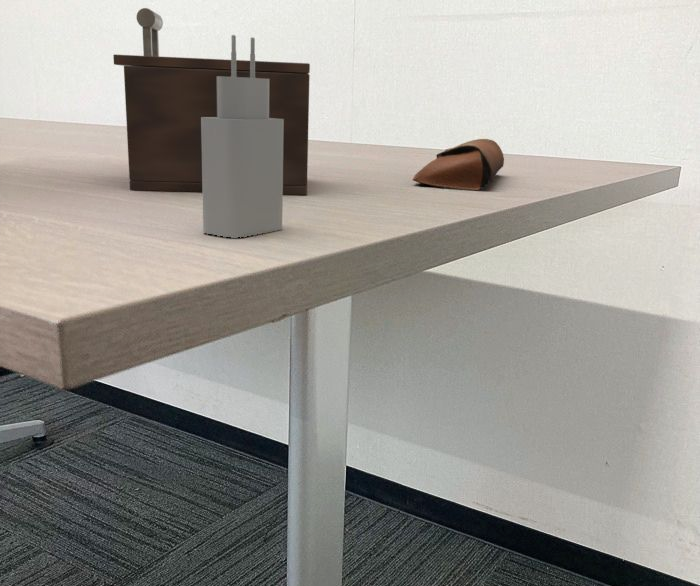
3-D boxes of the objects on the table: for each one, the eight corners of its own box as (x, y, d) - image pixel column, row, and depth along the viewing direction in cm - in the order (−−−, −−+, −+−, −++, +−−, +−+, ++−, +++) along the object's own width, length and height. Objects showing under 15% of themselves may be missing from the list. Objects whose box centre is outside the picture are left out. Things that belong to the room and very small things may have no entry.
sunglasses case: (433, 166, 96) (465, 119, 93) (479, 198, 96) (512, 153, 93) (409, 181, 79) (446, 124, 77) (465, 220, 79) (504, 165, 77)
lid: (113, 64, 64) (110, 2, 63) (139, 68, 76) (136, 15, 75) (309, 73, 66) (310, 12, 64) (304, 75, 78) (305, 24, 76)
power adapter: (286, 228, 53) (289, 39, 49) (235, 239, 48) (234, 32, 44) (250, 222, 54) (250, 39, 50) (198, 232, 50) (193, 32, 46)
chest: (129, 190, 68) (123, 65, 64) (151, 174, 80) (147, 68, 76) (306, 195, 69) (309, 73, 66) (302, 179, 81) (304, 75, 78)
